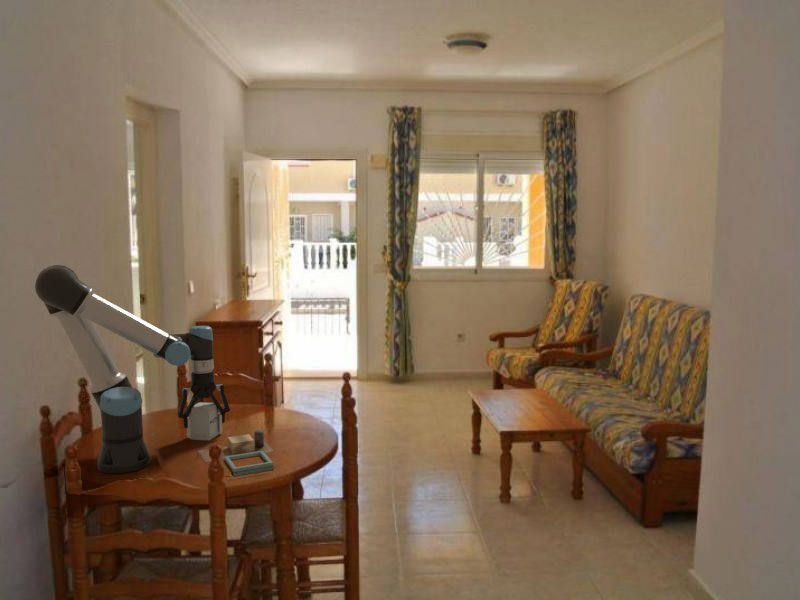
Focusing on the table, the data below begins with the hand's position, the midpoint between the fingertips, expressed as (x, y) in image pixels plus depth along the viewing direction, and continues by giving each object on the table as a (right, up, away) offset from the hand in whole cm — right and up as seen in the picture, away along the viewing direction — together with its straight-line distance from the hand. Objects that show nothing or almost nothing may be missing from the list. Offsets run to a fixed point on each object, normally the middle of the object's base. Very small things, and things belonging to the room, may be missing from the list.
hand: (204, 434), depth 231 cm
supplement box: (0, -2, 0) cm, 2 cm away
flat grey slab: (+14, -4, -15) cm, 21 cm away
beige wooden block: (+16, -2, -13) cm, 21 cm away
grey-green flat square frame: (+21, -5, -25) cm, 33 cm away
